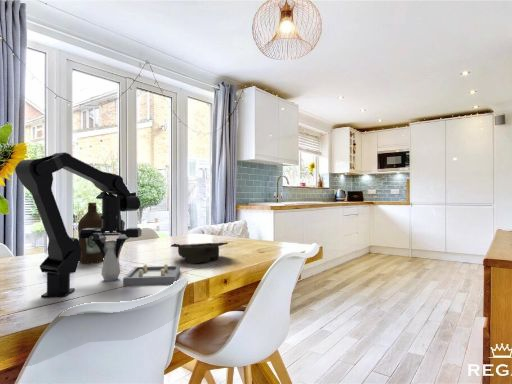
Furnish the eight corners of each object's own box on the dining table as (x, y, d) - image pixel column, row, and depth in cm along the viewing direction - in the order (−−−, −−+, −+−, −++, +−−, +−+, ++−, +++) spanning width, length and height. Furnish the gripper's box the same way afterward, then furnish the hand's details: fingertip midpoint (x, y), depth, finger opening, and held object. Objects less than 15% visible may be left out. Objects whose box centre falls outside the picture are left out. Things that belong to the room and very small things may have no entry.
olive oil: (74, 261, 139) (74, 202, 139) (100, 257, 146) (100, 202, 147) (82, 265, 131) (82, 203, 132) (109, 261, 139) (109, 202, 139)
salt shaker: (99, 279, 110) (99, 240, 110) (116, 276, 114) (116, 239, 114) (105, 282, 106) (105, 242, 106) (123, 279, 110) (123, 240, 110)
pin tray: (174, 283, 105) (174, 272, 105) (123, 285, 103) (123, 273, 103) (179, 271, 121) (179, 261, 121) (135, 272, 119) (135, 262, 119)
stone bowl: (198, 268, 126) (197, 244, 126) (158, 264, 141) (157, 243, 141) (239, 257, 146) (238, 236, 146) (201, 255, 161) (199, 236, 161)
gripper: (144, 210, 120) (144, 253, 120) (91, 211, 117) (90, 254, 117) (137, 212, 109) (137, 259, 108) (78, 213, 106) (78, 261, 106)
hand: (111, 258), depth 110 cm, fingers closed on salt shaker, 4 cm apart
